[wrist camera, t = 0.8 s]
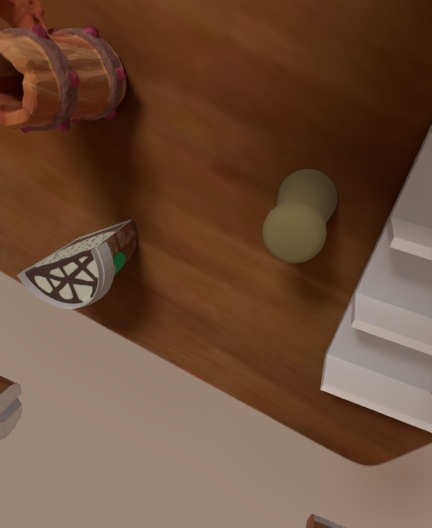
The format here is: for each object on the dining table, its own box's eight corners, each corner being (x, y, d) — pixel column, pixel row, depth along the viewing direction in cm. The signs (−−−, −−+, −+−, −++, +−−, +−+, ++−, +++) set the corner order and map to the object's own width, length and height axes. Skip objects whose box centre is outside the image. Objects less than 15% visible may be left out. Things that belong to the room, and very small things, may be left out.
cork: (329, 161, 39) (319, 194, 29) (344, 218, 41) (338, 267, 31) (270, 178, 41) (243, 214, 32) (286, 231, 43) (266, 280, 34)
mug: (155, 93, 41) (62, 110, 28) (103, 136, 45) (1, 168, 32) (66, -49, 38) (-85, -101, 25) (18, 11, 42) (-132, -8, 29)
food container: (91, 280, 55) (42, 321, 47) (69, 241, 53) (13, 276, 45) (164, 260, 50) (123, 301, 42) (142, 215, 48) (95, 249, 40)
